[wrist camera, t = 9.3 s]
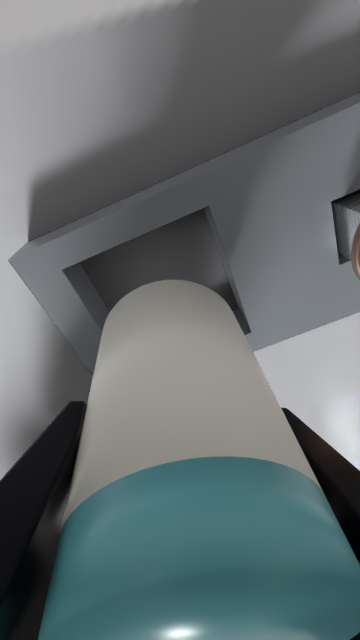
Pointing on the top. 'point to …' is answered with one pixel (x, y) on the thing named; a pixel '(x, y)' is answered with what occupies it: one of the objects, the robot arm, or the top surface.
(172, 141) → the top surface
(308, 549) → the cylinder
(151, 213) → the housing
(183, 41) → the top surface
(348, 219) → the plunger
